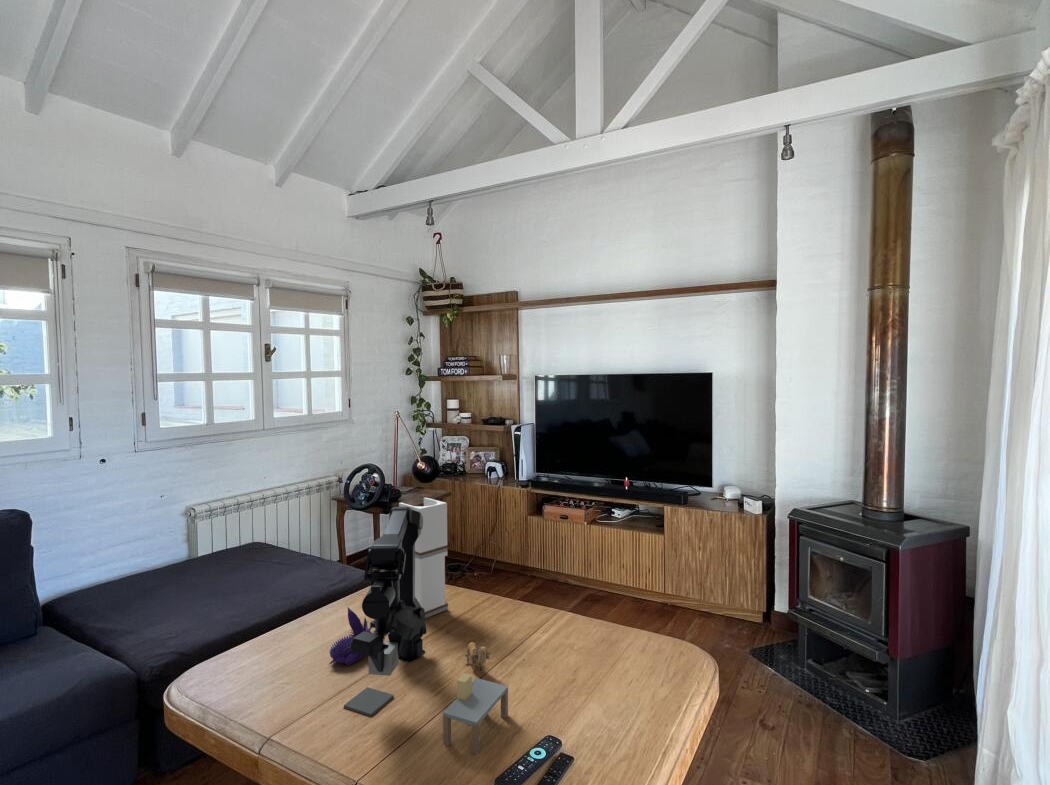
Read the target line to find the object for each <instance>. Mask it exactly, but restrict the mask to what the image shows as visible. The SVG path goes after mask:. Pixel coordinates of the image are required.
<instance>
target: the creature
mask: <svg viewBox="0 0 1050 785" xmlns="http://www.w3.org/2000/svg"><path fill="white" fill-rule="evenodd" d="M347 620H348V624H349V626H350V628H351V629H350V631H349V634H346V636H345V635H344V636H341V638H338V639H337V641H335V642H334V643H333V644H332V645H331V646H330V648H329V651H328V653H329V655H330V658H331V659H332V660H331V661H329V662H330V663H328V666H329V665H331V664H333V663H337V664H345V665H347V666H349V665H352V664H353V663H356V662H358V661H359V660H361V659H362V658H363V657H364V656H365V655H362V654H358V653H354V652H350V641H351V640H352V639H353V638H354V637H356V636H357V635H359V634H360V633H362V632H363V631H365V632H369V633H373V632H372V631H371V630H372V629H373V628H372V627H370V626H368V620H367V618H366V617H364V619H363V623H362V622H361V619H360V618H359V617H358V615H357V614H356V612H354V611H353V610H352V609H351V608H350V607H349V606H347Z"/></svg>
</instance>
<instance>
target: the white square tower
mask: <svg viewBox="0 0 1050 785" xmlns="http://www.w3.org/2000/svg"><path fill="white" fill-rule="evenodd" d="M398 507H409V508H412V510H415V511H418V512H420V513H421V514H422V516H423V528H422V529H421V534H420V535H419V537H418V539H417V541H416V542H415V597H416V599H417V600H418V602H419V603H420V605H421V607H422V608H424V610H425V619H428V618H430V617H432V616H434V615H437V614H440V613H442V612H446V611H448V610H449V602H448V601H447V602H446V565H445V564H446V558H445V557H448V503H447V502H444V501H440V500H437V499H434V498H428V497H423V506H419V505H418V506H417V505H411V504H407V503H405V502H399V503H398Z"/></svg>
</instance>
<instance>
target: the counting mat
mask: <svg viewBox="0 0 1050 785" xmlns="http://www.w3.org/2000/svg"><path fill="white" fill-rule="evenodd" d="M393 698H395V695H394V694H392V693H389V692H386V691H382V690H379V689H375V688H371V687H368V686H367V687H365V688H364V689H362V691H360V692H359V693H357V694H356V695H355V696H354V697H352V698H351V699H350V700H348V701H347V702H346V703H345V704H343V708H344V709H346V710H350V711H353V712H356V713H359V714H362V715H366V716H368V717H373V716H374V715H375V714H376V713H377V712H379V710H381V709H382V708H383V707H384V706H386V705H387V704H388V703H389V702H390V701H392V699H393Z"/></svg>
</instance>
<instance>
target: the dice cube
mask: <svg viewBox="0 0 1050 785" xmlns="http://www.w3.org/2000/svg"><path fill="white" fill-rule="evenodd" d="M384 644H386V645H389V647H387V648H386V649H385V651H384V665H383V671H382V672H378V671H377V669H376V667H375V665H374V663H373V662H372V660H371V658H370V657H369V656H367V657H368V661H367V662H368V674H369V675H373V676H374V675H376V676H387V677H389V676H391V675H392V674H393V672H394V671H395V669H396V668H397V667H398V665H399V664H400V663H399V660H400V659H398V643H395V642H389V641H384Z"/></svg>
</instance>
